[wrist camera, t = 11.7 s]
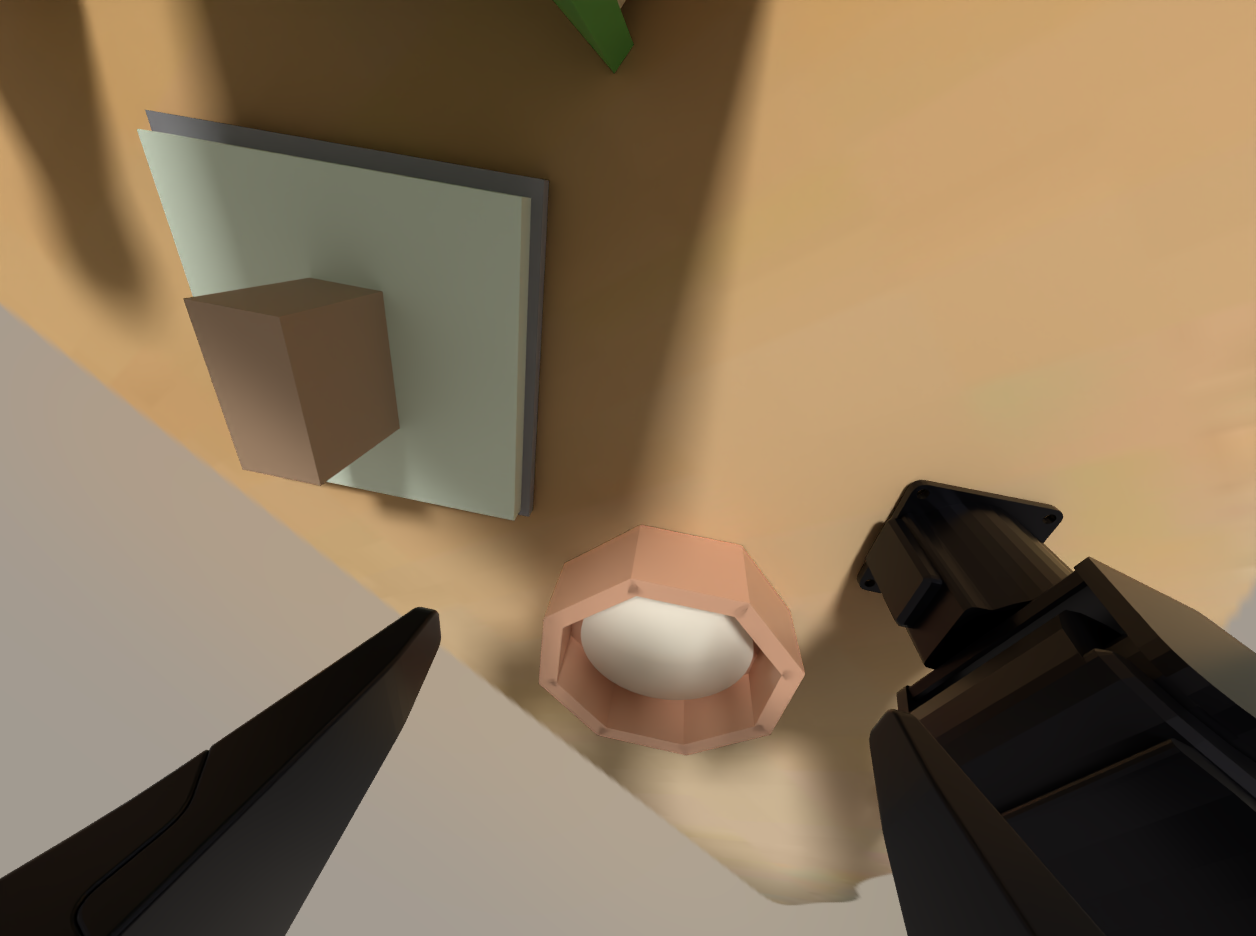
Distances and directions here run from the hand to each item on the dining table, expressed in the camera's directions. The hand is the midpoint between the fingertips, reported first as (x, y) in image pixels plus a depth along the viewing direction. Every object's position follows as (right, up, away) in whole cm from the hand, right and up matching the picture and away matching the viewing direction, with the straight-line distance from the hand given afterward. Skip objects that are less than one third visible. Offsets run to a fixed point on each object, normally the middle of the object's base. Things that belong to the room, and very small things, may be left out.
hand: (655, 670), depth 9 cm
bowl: (+2, -5, +18) cm, 18 cm away
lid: (-12, +9, +11) cm, 19 cm away
